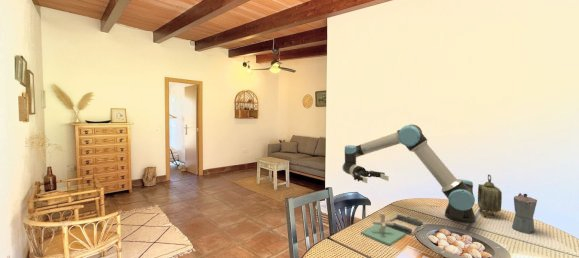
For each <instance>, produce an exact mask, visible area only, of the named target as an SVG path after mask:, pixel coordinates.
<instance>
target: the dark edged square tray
mask: <svg viewBox="0 0 579 258" xmlns="http://www.w3.org/2000/svg"><path fill="white" fill-rule="evenodd" d="M396 220H398V221H400V222H404V223H407V224H409V225H413V226H416V227H418V226H421V225H424V222H423V221H421V220H419V219H418V218H417V219H416V218H413V217H411V216H405V215H401V214H397V215H396V216H393V218H390V219H388V220H387V221H388V222H393V223H394V226H392V225H386V226H387V227H390V228H392V229H395V230H398V231H401V232H403V233H406V235H409V236H411V237H412V236H414V231H415V230H413V229H412V228H410V227H407V226H404V225H401V224H398V223H395V222H394V221H396Z"/></svg>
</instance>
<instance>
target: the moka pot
mask: <svg viewBox="0 0 579 258" xmlns="http://www.w3.org/2000/svg"><path fill="white" fill-rule="evenodd" d="M537 202H538V200H537V199H535V198H533V197H531V196H528V194H527V193H523V194H522V193H521V192H520V193H518V195H515V196H514V197H513V206H514V213H515V214H514V218H513V221H512V226H511V227H512V228H513V230H515V231H517V232H520V233H523V234H529V235H530V234H531V235H532V234H534V233H535V231H536V230H535V223H534V222H535V221H534V215H535V211H536V206H537V204H538V203H537Z"/></svg>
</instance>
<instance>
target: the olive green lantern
mask: <svg viewBox="0 0 579 258" xmlns="http://www.w3.org/2000/svg"><path fill="white" fill-rule="evenodd" d="M502 195H503V193H502V191H501V189H500V188H499V187H498V186H496V185H495V184H494V182H492V175H491V174H487V181H486V182H485V183H484V184H478V188H477V206H478V207H479V211H480V212H482V211H485V212H484V213H485V214H483V218H487V217H488V216H487V214H488V213H489V212H490V216H495V213H498V212H501V211H502V203H503V201H502V200H503V198H502V197H503V196H502Z"/></svg>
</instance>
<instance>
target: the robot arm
mask: <svg viewBox="0 0 579 258" xmlns="http://www.w3.org/2000/svg"><path fill="white" fill-rule="evenodd" d="M397 145H403V146H405V147H406V149H407V150H408V151H409V152H412V153H414V154H415V155H416V157H417V158H418V159H419V161H420V162H421V163H422V164H423V165H424V166H425V168H426V169H427V170H428V171H429V173H430V174H431V175H432V176H433V177H434V179H435V180H436V181H437V183H438V184H439V185H440V186H441V192H442V193H443V194H444V196H445V197H446V198H447V201H448V204H447V206H446V208H445V210H444V217H445V218H447V219H449V220H450V221H454V222H457V223H463V224H472V223H475V222H476V216H475V212H474V209H473V207H474V205H475V202H476V201H475V200H476V199H475V194H474V191H473V189H474V183H473V181H471V180H469V179H468V180H467V179H459V178H457V177H456V176H454V174H453V173H452V172H451V171H450V169H449V168H448V167H447V166H446V165H445V163H444V162H443V161H442V159H440V157H439V156H438V155H437V153H436V152H435V151H434V150H433V149H432V147H430V146H429V144H428V138H427V137H426V136H425V134H423V131H422V128H420V127H419V126H418V125H416V124H407V125H404V126H402V127H401V129H399V130H398V129H397V130H396V132H393V133H391V134H387V135H385V136H381V137H379V138H376V139H374V140H369V141H367V142H363V143H361V144H359V145H351V144H350V145H349V144H348V145H345V146H344V163H343V165H342V171H343V172H344V173H345V174H348V175H350V176H352V177H353V180H354V181H357V182H362V183H365V184H367V183H368V178H372V177H373V178H378V179H379V178H380V179H382V180H385V181H386V182H387V181H388V182H389V175H387V174H385V172H383V171H375V170H366V168H365V167H363V166H361V165H359V164H357V158H358V157H361V156H365V155H367V154H370V153H371V154H372V153H373V152H377V151H380V150H383V149H387V148H390V147H393V146H397Z"/></svg>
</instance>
